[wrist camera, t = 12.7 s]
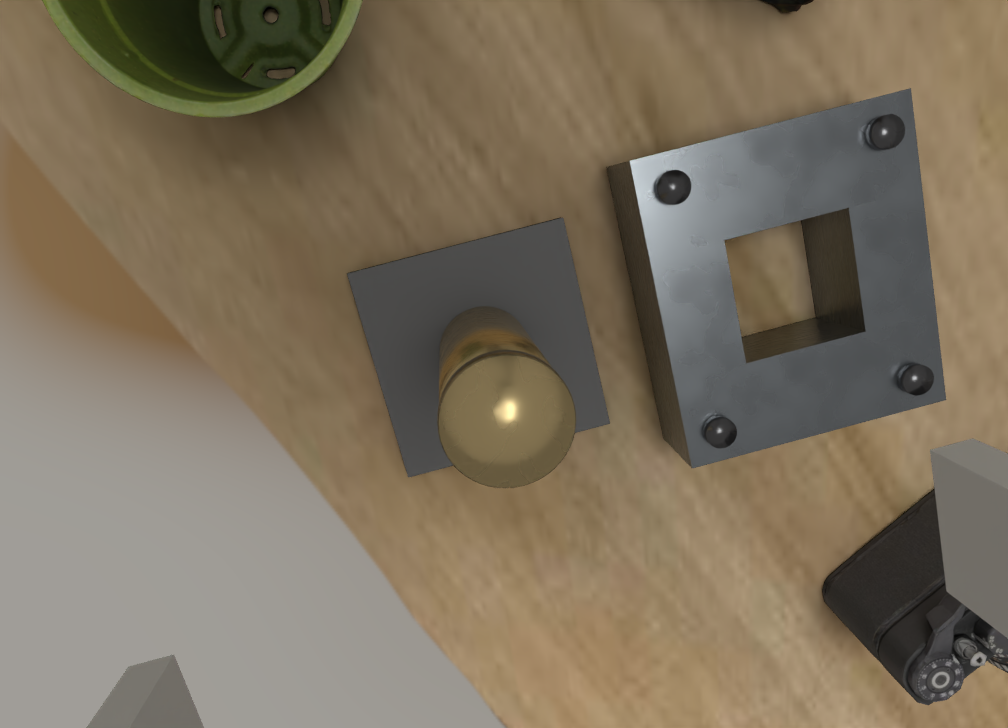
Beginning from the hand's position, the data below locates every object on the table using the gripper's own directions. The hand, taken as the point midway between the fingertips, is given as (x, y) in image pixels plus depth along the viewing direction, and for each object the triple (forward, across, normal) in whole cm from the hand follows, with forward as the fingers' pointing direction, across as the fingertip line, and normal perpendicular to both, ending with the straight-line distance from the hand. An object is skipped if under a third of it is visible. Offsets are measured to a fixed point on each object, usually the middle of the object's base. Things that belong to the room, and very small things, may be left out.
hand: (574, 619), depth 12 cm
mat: (+29, 0, -1) cm, 29 cm away
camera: (+29, +24, -22) cm, 44 cm away
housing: (+29, +16, -1) cm, 33 cm away
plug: (+28, 0, -1) cm, 28 cm away
